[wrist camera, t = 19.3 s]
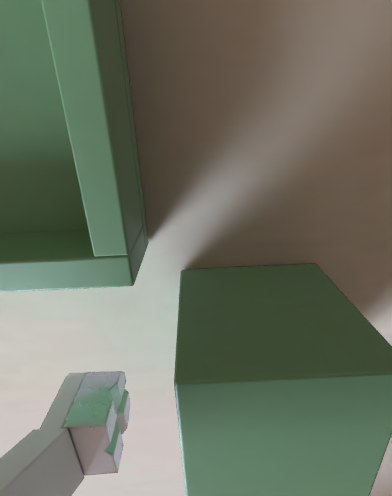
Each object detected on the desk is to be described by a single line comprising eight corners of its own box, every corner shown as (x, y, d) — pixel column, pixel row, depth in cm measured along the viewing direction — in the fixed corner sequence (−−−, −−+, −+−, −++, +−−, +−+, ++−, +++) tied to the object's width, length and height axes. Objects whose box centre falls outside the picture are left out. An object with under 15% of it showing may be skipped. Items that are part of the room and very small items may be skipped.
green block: (180, 269, 9) (173, 382, 5) (316, 262, 9) (417, 371, 5) (188, 369, 11) (186, 513, 7) (301, 364, 11) (367, 505, 7)
